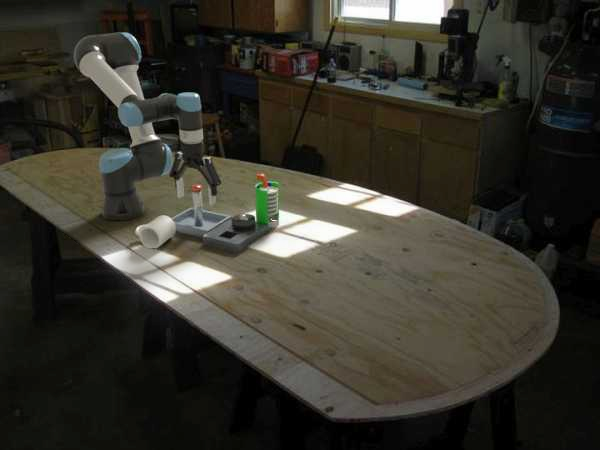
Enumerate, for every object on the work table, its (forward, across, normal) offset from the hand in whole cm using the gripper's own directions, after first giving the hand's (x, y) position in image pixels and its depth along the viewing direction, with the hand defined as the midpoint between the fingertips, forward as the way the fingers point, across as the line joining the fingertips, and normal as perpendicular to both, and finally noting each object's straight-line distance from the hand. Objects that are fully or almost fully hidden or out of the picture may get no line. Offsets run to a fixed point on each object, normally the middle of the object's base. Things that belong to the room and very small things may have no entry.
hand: (196, 200), depth 208 cm
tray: (+10, 0, 0) cm, 10 cm away
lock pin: (+9, 0, 0) cm, 9 cm away
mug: (+10, -5, -17) cm, 21 cm away
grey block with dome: (+9, +18, -2) cm, 20 cm away
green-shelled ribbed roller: (+10, +20, +13) cm, 26 cm away
